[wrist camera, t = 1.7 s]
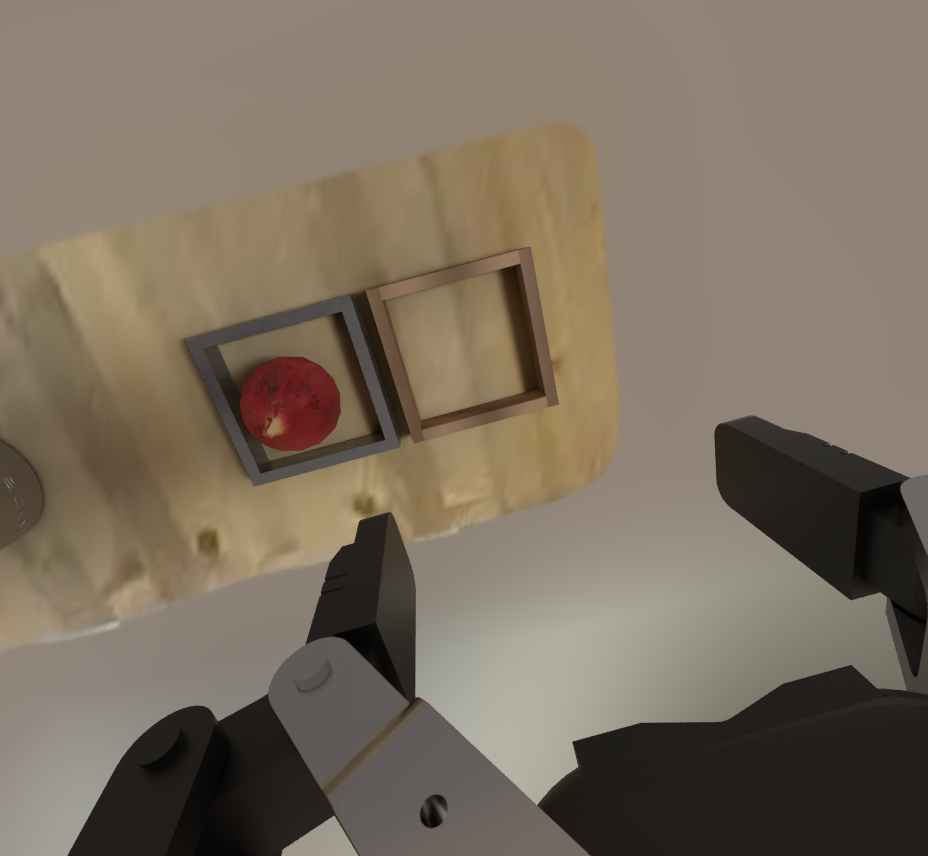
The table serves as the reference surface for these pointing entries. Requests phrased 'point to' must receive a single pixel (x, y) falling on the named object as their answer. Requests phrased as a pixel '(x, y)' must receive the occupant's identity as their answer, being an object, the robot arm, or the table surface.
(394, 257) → the table surface
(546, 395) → the walnut frame
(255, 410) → the pomegranate
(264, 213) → the table surface
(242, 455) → the grey frame
